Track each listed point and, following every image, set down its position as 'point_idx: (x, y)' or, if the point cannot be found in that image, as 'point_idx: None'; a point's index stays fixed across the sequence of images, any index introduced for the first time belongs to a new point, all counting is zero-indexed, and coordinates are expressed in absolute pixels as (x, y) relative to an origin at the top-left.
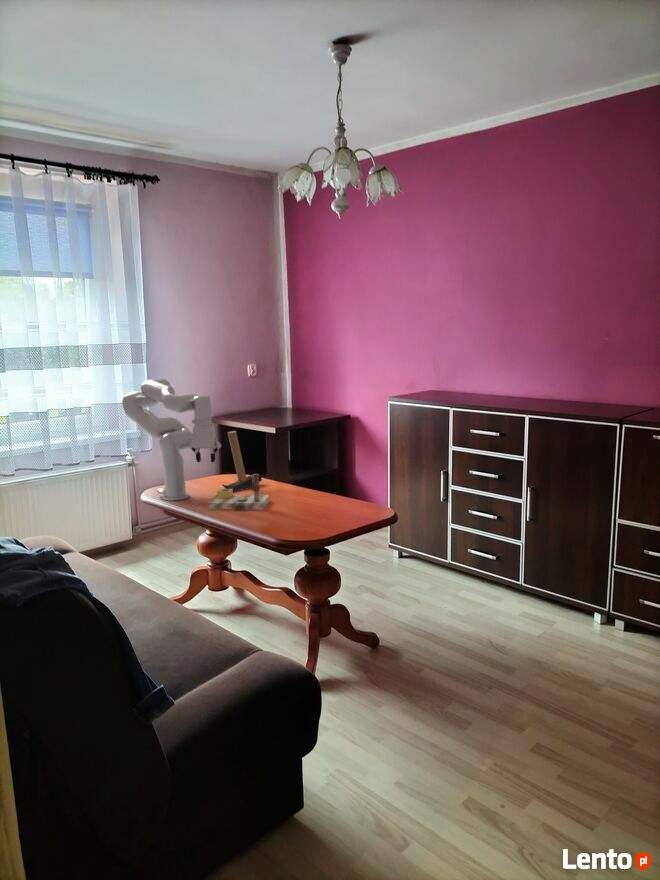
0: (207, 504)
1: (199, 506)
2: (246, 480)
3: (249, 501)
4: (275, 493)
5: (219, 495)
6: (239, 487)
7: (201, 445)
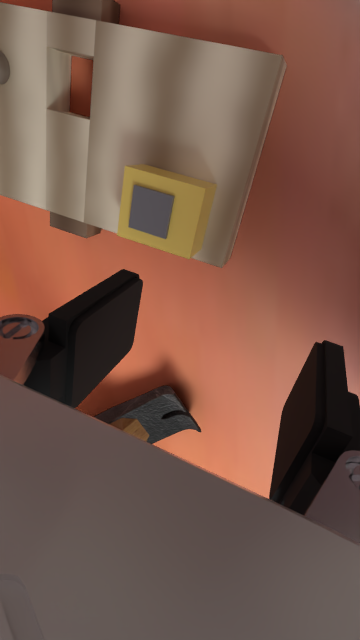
0: (283, 58)
1: (337, 159)
2: None
3: (29, 54)
4: (9, 302)
5: (197, 181)
6: (136, 402)
7: (129, 530)
